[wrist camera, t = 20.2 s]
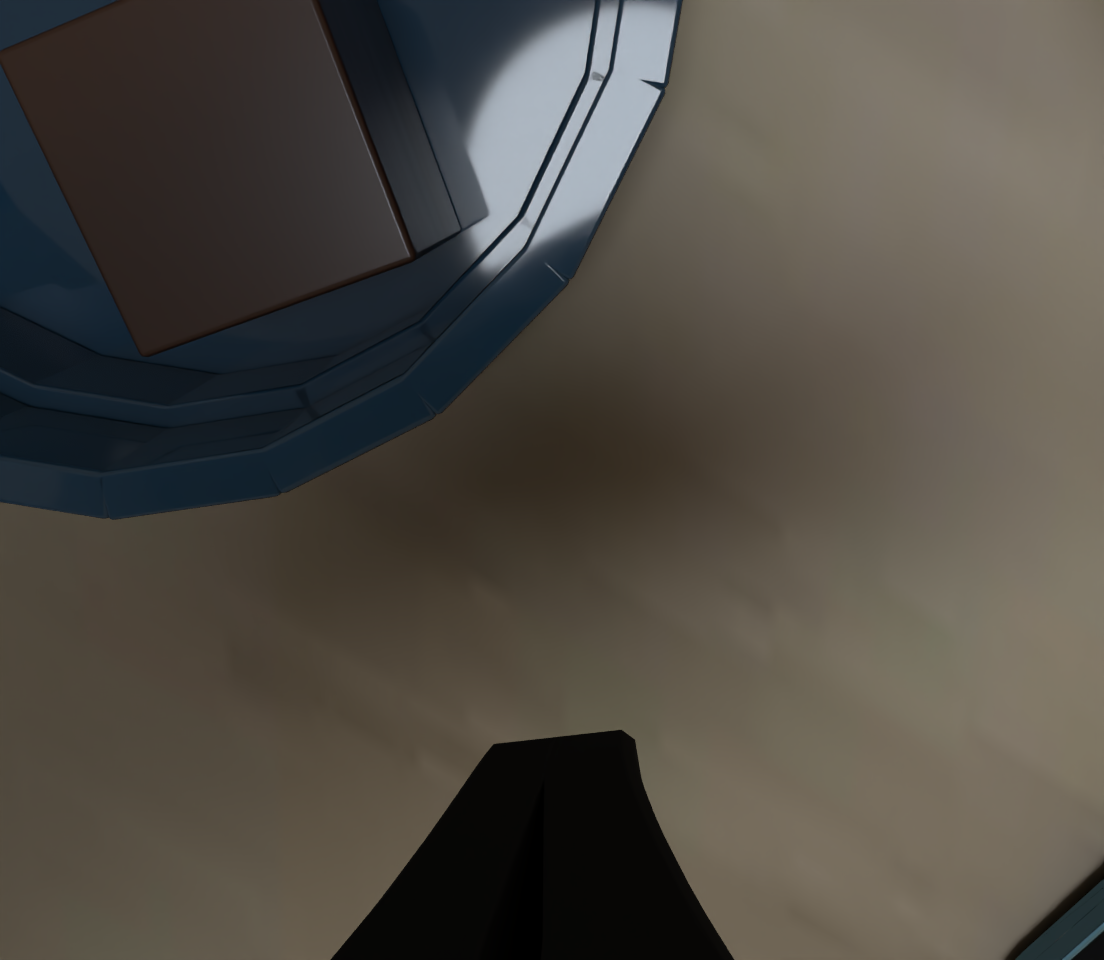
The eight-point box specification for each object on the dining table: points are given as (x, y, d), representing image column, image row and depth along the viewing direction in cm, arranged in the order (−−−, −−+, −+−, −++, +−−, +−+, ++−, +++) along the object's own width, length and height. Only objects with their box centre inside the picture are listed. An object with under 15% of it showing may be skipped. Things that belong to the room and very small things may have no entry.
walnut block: (139, 72, 16) (-10, 51, 12) (369, -22, 15) (289, -76, 11) (245, 311, 17) (139, 360, 13) (463, 233, 16) (417, 260, 13)
